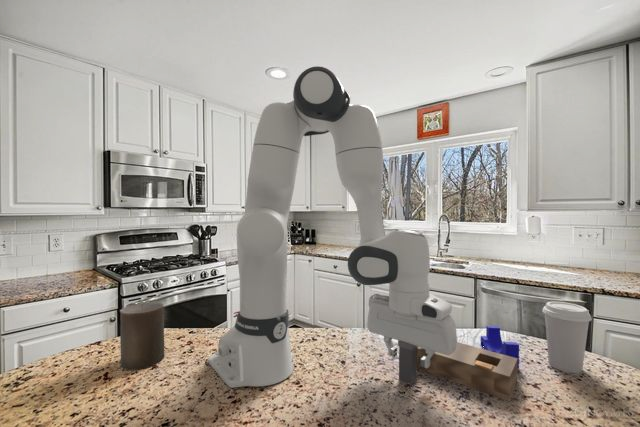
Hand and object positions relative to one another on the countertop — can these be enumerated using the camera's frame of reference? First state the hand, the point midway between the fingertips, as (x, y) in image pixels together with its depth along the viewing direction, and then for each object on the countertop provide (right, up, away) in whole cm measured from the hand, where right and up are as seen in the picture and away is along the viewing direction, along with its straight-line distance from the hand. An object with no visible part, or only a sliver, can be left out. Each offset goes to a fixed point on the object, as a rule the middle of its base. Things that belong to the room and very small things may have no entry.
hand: (408, 360), depth 70 cm
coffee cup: (+41, -5, +6) cm, 41 cm away
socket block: (+13, -4, +3) cm, 14 cm away
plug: (0, -4, 0) cm, 4 cm away
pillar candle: (-65, -4, +8) cm, 66 cm away
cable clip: (+27, -5, +11) cm, 30 cm away
